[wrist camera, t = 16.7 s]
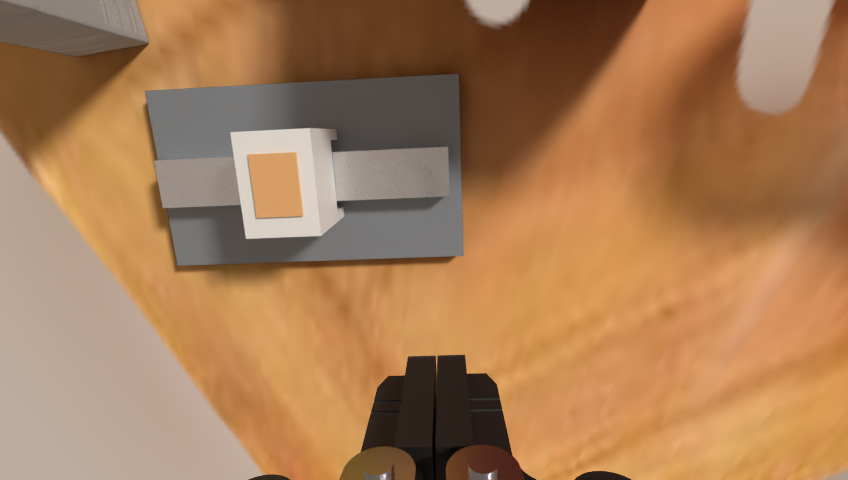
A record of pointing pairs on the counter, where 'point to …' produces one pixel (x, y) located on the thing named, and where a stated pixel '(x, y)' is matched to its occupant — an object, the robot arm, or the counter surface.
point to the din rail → (352, 174)
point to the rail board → (356, 130)
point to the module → (286, 182)
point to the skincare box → (72, 25)
